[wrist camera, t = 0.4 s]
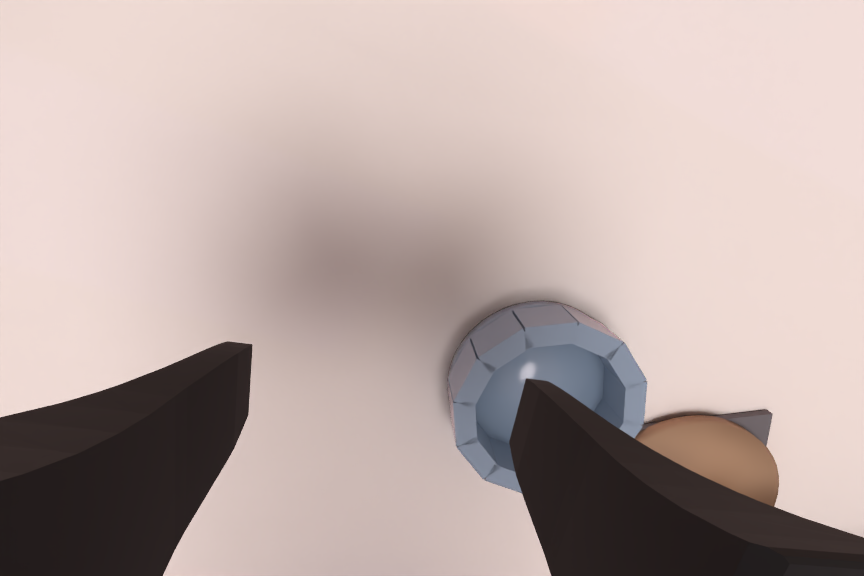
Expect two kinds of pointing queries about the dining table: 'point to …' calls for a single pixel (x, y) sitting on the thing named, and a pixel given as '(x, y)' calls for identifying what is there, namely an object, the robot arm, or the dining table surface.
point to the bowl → (542, 360)
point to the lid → (717, 453)
